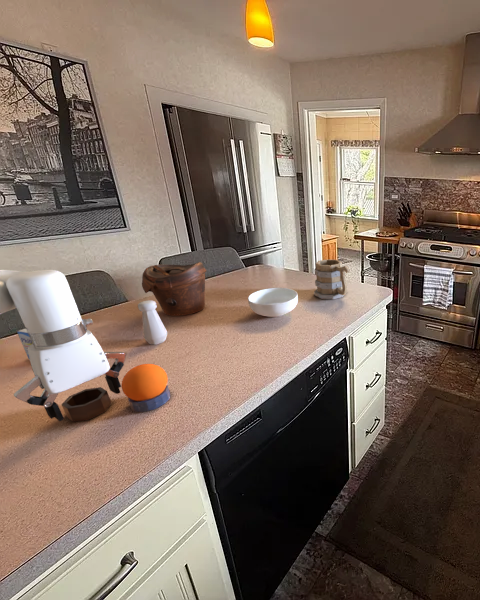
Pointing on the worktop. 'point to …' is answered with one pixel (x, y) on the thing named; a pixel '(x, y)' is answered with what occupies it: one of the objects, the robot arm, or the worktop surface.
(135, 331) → the worktop surface
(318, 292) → the tankard
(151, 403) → the cradle
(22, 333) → the medicine box
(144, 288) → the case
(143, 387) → the ball
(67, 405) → the napkin ring
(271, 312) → the cereal bowl
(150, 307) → the salt shaker
